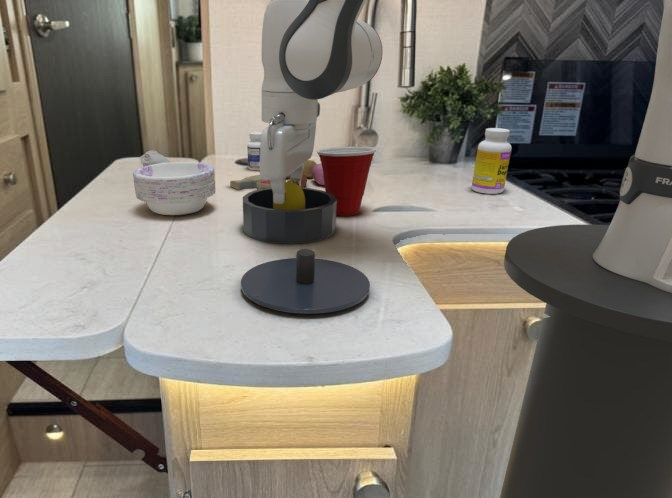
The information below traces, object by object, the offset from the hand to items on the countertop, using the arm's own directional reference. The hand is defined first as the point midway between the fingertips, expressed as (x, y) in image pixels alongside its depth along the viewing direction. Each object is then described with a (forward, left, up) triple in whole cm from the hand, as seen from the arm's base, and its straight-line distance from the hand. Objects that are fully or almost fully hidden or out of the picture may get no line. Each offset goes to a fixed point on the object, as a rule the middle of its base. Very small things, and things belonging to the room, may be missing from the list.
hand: (287, 195), depth 92 cm
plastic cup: (-7, -13, -6) cm, 16 cm away
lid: (-9, +24, -5) cm, 26 cm away
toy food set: (+8, -32, -6) cm, 34 cm away
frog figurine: (+39, -25, -6) cm, 46 cm away
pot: (0, 0, -6) cm, 6 cm away
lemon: (0, 0, -6) cm, 6 cm away
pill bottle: (+21, -45, -6) cm, 50 cm away
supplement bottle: (-34, -38, -6) cm, 52 cm away
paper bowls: (+24, -5, -6) cm, 25 cm away
